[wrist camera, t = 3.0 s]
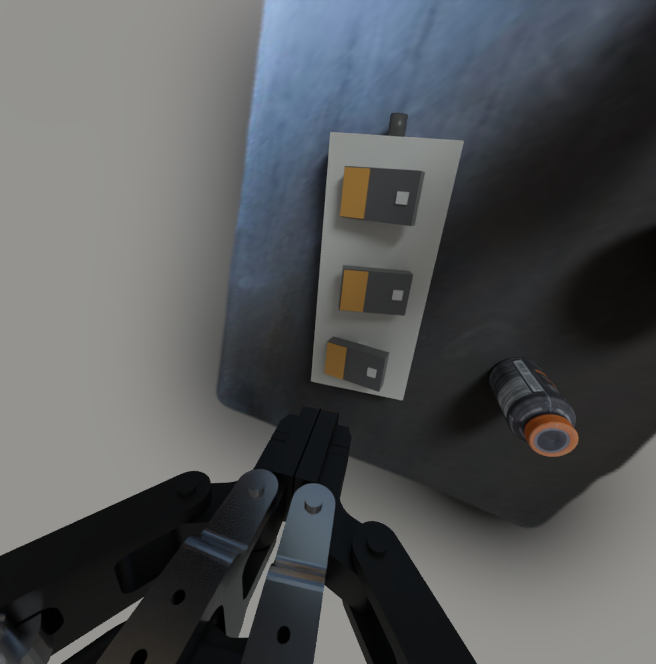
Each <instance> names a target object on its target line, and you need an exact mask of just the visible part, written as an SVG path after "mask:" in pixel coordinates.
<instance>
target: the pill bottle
mask: <svg viewBox="0 0 656 664" xmlns="http://www.w3.org/2000/svg"><path fill="white" fill-rule="evenodd" d="M489 384H490V387H491V389H492V391H493V394H494V396H495V398H496V400H497V402H498V404H499V407H500V409H501V411H502V413H503V415H504V417H505V419H506V421H507V423H508V426H509V428H510V430H511V431H512V432H513V434H514V435H515V436H517V437H518V438H519V439H521V440H523V441H525V442H527V443H529V445H530V447H531V448H532V449H533V450H534V451H535V452H537V453H539V454H541V455H544V456H549V457H556V456H562V455H565V454H567V453H569V452H570V451H572V450H573V449H574V448H575V447H576V445H577V443H578V434H577V432H576V430H575V429H574V427H575V423H576V417H575V413H574V410H573V408H572V407H571V406H570V404H569V403H568V402H567V400H566V399H565V398H564V397H563V395H562V394H561V393H560V392H559V391H558V389H557V388H556V387H555V385H554V384H553V383H552V382H551V381H550V379H549V378H548V377H547V376H546V374H545V373H544V372H543V371H542V370H541V369H540V367H539V366H538V365H537V364H535V363H534V362H532V361H531V360H528V359H524V358H511V359H507V360H504V361H502V362H500V363H499V364H497V365H496V366H495V367H494V368H493V370H492V371H491V373H490V376H489Z"/></svg>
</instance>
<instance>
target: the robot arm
mask: <svg viewBox="0 0 656 664" xmlns="http://www.w3.org/2000/svg"><path fill="white" fill-rule="evenodd" d="M338 418H339V412H337V411H332V410H328V409H323V408H322V409H321V408H318V407H314V406H309V405H304V406H303V408H302V410H301V412H300V414H299V416H297V415H293V414H289V415H287V416H286V417H285V418H283V419H282V420H281V421H280V423H279V424H278V426H277V428H276V430H275V432H274V433H273V435H272V437H271V440H270V441H269V443H268V444H267V446H266V448H265V450H264V451H263V453H262V455H261V457H260V459H259V460H258V462H257V464H256V466H255V467H254V469H253V470H251V471H249V472H247V473H245V474H244V475H242V476H241V477H240V479H239V480H238V481H235V482H230V483H210V479H209V477H208V476H207V475H206V474H204V473H202V472H199V471H189V472H185V473H183V474H180V475H178V476H176V477H173V478H171V479H169V480H167V481H165V482H162V483H160V484H158V485H156V486H154V487H151V488H149V489H147V490H145V491H143V492H140V493H138V494H136V495H134V496H131V497H129V498H127V499H125V500H123V501H121V502H118V503H116V504H114V505H112V506H109V507H107V508H105V509H103V510H101V511H98V512H96V513H94V514H92V515H90V516H87V517H85V518H83V519H81V520H78V521H76V522H74V523H72V524H70V525H67V526H65V527H63V528H61V529H58V530H56V531H54V532H52V533H50V534H48V535H45V536H43V537H41V538H39V539H37V540H34V541H32V542H30V543H28V544H25V545H23V546H21V547H19V548H16V549H14V550H12V551H10V552H8V553H5V554H3V555H1V556H0V664H47V663H48V661H49V659H50V656H52V655H53V654H55V653H56V652H58V651H59V650H61V649H63V648H64V647H66V646H67V645H69V644H70V643H72V642H74V641H75V640H77V639H78V638H80V637H81V636H83V635H85V634H86V633H88V632H89V631H91V630H92V629H94V628H96V627H97V626H99V625H100V624H102V623H103V622H105V621H107V620H108V619H110V618H111V617H113V616H114V615H116V614H118V613H119V612H121V611H122V610H124V609H125V608H127V607H128V606H130V605H132V604H133V603H135V602H136V601H138V600H140V599H141V598H143V597H144V598H143V599H142V600H141V602H140V603H139V605H138V606H137V607H136V609H135V610H134V612H133V613H132V614H131V616H130V617H129V618H128V620H127V621H125V622H123V623H121V624H119V625H117V626H115V627H114V628H112V629H111V630H109V631H108V632H106V633H105V634H103V635H102V636H101V637H99V638H97V639H96V640H95V641H93V642H92V643H90V644H89V645H87V646H86V647H84V648H83V649H82V650H80V651H79V652H77V653H76V654H74V655H73V656H71V657H70V658H68V659H67V660H66V661H64V662H63V663H61V664H313V662H314V655H315V648H316V641H317V634H318V627H319V619H320V612H321V605H322V598H323V591H324V585H325V586H327V587H328V588H329V589H330V590H331V591H333V592H334V593H335V594H336V595H338V596H339V597H340V598H341V599H342V601H343V605H344V608H345V610H346V613H347V616H348V618H349V620H350V623H351V626H352V628H353V630H354V633H355V635H356V638H357V640H358V643H359V645H360V647H361V650H362V652H363V655H364V657H365V660H366V662H367V664H477V663H476V661H475V660H474V658H473V657H472V655H471V654H470V652H469V650H468V649H467V647H466V646H465V644H464V642H463V641H462V639H461V638H460V636H459V634H458V633H457V631H456V630H455V628H454V626H453V625H452V623H451V622H450V620H449V619H448V617H447V616H446V614H445V612H444V611H443V609H442V607H441V606H440V604H439V603H438V601H437V600H436V598H435V596H434V595H433V593H432V592H431V590H430V588H429V587H428V585H427V584H426V582H425V581H424V579H423V577H421V574H420V573H419V571H418V570H417V568H416V567H415V565H414V563H413V562H412V560H411V559H410V557H409V555H408V554H407V552H406V551H405V549H404V547H403V546H402V545H401V543H400V541H399V540H398V538H397V536H396V535H395V533H394V532H393V531H392V530H391V529H390V528H388V527H387V526H386V525H384V524H382V523H379V522H375V521H368V522H365V523H363V524H362V523H360V522H359V521H357V520H356V519H354V518H353V517H352V516H350V515H349V514H348V513H347V512H346V511H345V509H344V508H343V506H342V504H341V502H340V495H341V491H342V485H343V481H344V476H345V472H346V467H347V462H348V456H349V450H350V443H351V434H350V431H349V427H345V426H341V425H338ZM282 521H284V522H286V523H285V526H284V530H283V533H282V537H281V540H280V544H279V547H278V551H277V554H276V558H275V560H274V563H272V564H271V566H270V568H269V570H268V574H267V576H266V580H265V583H264V586H263V590H262V594H261V597H260V600H259V604H258V607H257V610H256V614H255V617H254V621H253V624H252V627H251V631H250V634H249V637H248V638H238V636H239V633H240V631H241V628H242V624H243V621H244V617H245V613H246V609H247V606H248V604H249V601H250V599H251V597H252V595H253V592H254V590H255V588H256V586H257V584H258V581H259V579H260V577H261V575H262V572H263V570H264V568H265V566H266V563H267V562H268V559H269V557H270V554H271V553H272V551H273V548H274V546H275V543H276V539H277V535H278V532H279V529H280V527H281V524H282Z"/></svg>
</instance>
